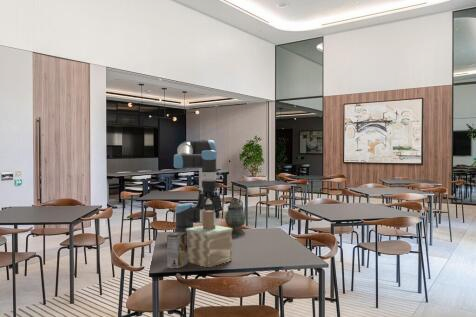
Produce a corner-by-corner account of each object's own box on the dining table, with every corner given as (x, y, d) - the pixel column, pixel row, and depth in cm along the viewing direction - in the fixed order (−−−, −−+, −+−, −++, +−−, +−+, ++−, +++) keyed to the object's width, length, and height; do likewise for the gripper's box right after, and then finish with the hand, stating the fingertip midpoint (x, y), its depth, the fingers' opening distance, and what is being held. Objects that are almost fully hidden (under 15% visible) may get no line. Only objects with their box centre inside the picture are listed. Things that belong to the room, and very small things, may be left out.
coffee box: (176, 262, 186) (176, 231, 186) (187, 264, 184) (187, 232, 184) (166, 267, 178) (166, 235, 178) (178, 269, 175) (178, 236, 175)
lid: (185, 230, 188) (185, 211, 188) (210, 225, 200) (210, 207, 200) (207, 235, 176) (207, 215, 176) (232, 230, 188) (232, 211, 188)
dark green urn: (223, 235, 249) (223, 198, 249) (227, 231, 263) (226, 196, 263) (244, 235, 247) (244, 199, 247) (246, 231, 261) (246, 196, 261)
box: (186, 261, 188) (186, 230, 188) (210, 255, 200) (210, 226, 200) (207, 268, 177) (207, 235, 177) (231, 261, 189) (231, 230, 188)
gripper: (189, 179, 193) (189, 221, 193) (218, 181, 177) (218, 227, 178) (200, 178, 199) (200, 219, 199) (229, 180, 183) (229, 225, 183)
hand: (209, 223), depth 188 cm, fingers open, 10 cm apart
